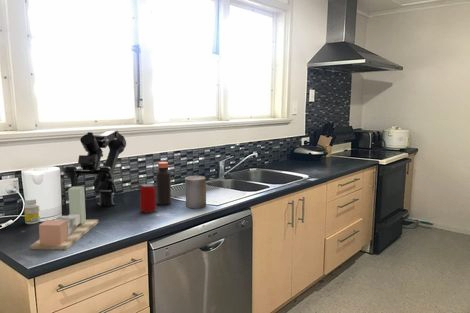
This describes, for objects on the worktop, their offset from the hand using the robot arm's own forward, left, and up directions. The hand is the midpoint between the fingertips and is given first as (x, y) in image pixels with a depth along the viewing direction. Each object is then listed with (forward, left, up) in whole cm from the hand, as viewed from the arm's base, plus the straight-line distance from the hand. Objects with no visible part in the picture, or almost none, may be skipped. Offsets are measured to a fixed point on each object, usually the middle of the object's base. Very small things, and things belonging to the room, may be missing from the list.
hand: (83, 190), depth 150 cm
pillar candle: (+4, +49, -13) cm, 51 cm away
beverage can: (0, +27, -13) cm, 30 cm away
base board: (+13, -9, -13) cm, 20 cm away
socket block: (+21, -15, -12) cm, 28 cm away
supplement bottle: (-10, -18, -13) cm, 25 cm away
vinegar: (-8, +38, -13) cm, 41 cm away
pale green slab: (+11, -8, -11) cm, 17 cm away
